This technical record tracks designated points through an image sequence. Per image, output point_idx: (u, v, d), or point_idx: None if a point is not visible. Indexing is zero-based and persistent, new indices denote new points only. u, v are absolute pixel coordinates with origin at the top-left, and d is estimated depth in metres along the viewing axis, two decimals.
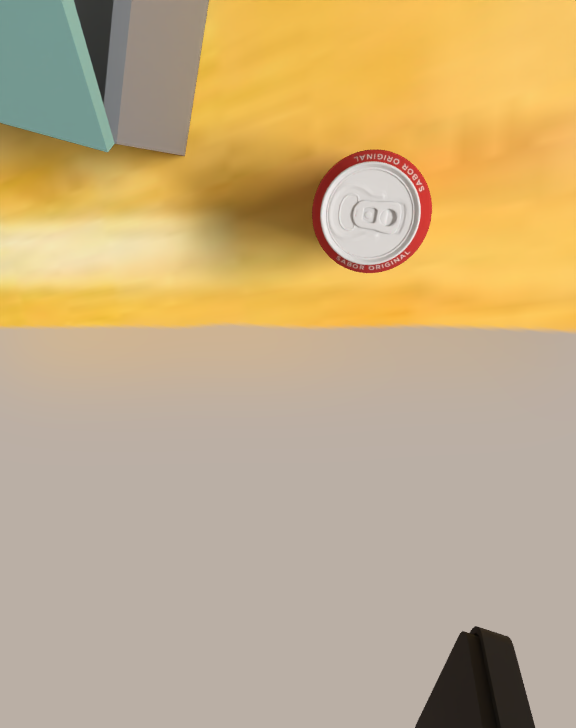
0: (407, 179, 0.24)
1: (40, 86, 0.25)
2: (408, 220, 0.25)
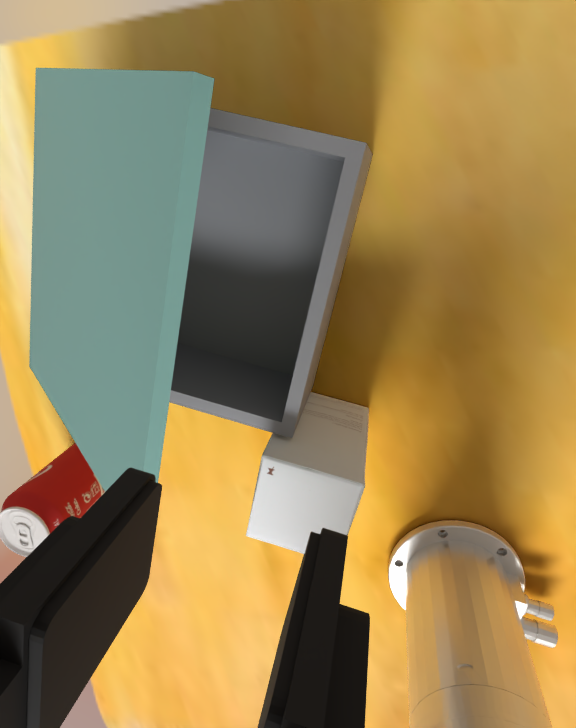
0: None
1: (41, 347, 0.34)
2: (26, 550, 0.42)
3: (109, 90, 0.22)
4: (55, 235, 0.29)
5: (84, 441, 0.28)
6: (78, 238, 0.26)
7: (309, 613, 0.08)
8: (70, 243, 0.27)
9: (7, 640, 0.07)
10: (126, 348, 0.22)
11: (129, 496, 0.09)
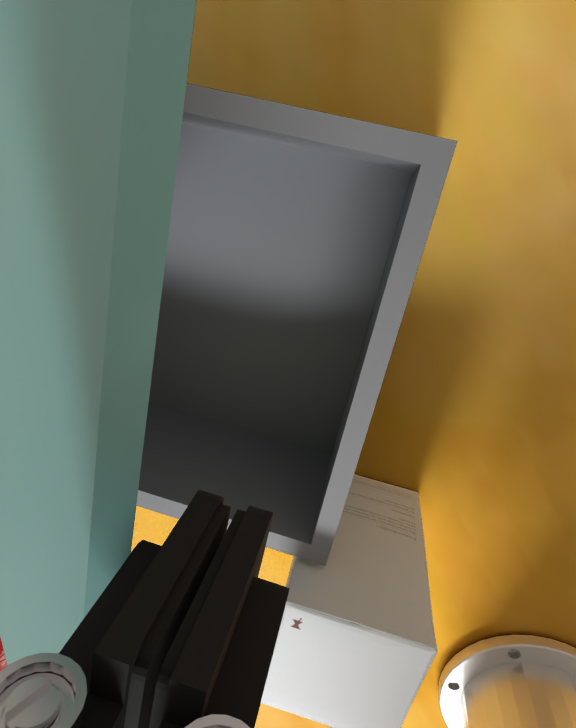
0: None
1: None
2: None
3: None
4: None
5: (2, 625, 0.17)
6: None
7: (217, 583, 0.08)
8: None
9: (110, 679, 0.06)
10: (40, 536, 0.12)
11: (204, 521, 0.09)
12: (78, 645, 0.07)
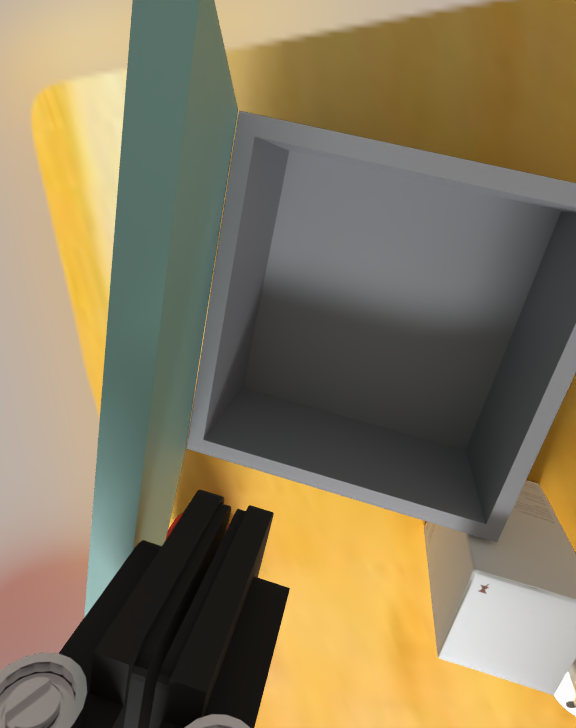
0: None
1: None
2: None
3: None
4: None
5: None
6: None
7: (218, 583, 0.08)
8: None
9: (110, 679, 0.06)
10: None
11: (204, 521, 0.09)
12: (78, 645, 0.07)
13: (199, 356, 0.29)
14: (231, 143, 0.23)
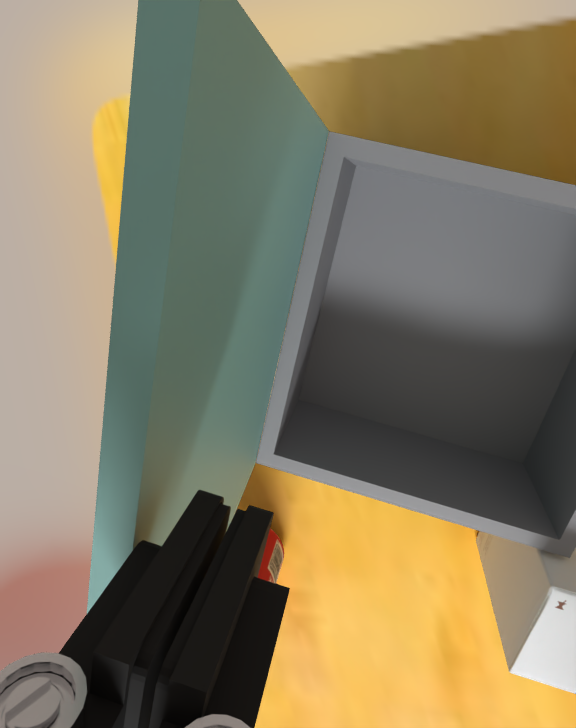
0: None
1: None
2: None
3: None
4: None
5: None
6: None
7: (217, 583, 0.08)
8: None
9: (109, 679, 0.06)
10: None
11: (204, 521, 0.09)
12: (78, 645, 0.07)
13: (274, 372, 0.29)
14: (317, 163, 0.23)
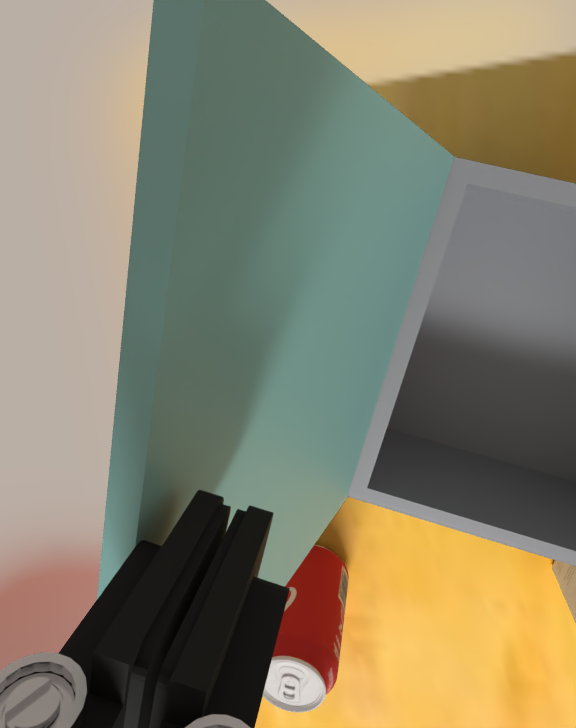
0: (313, 708, 0.34)
1: None
2: (287, 702, 0.35)
3: None
4: None
5: None
6: None
7: (217, 583, 0.08)
8: None
9: (109, 679, 0.06)
10: None
11: (204, 521, 0.09)
12: (78, 645, 0.07)
13: (374, 404, 0.27)
14: (436, 189, 0.22)
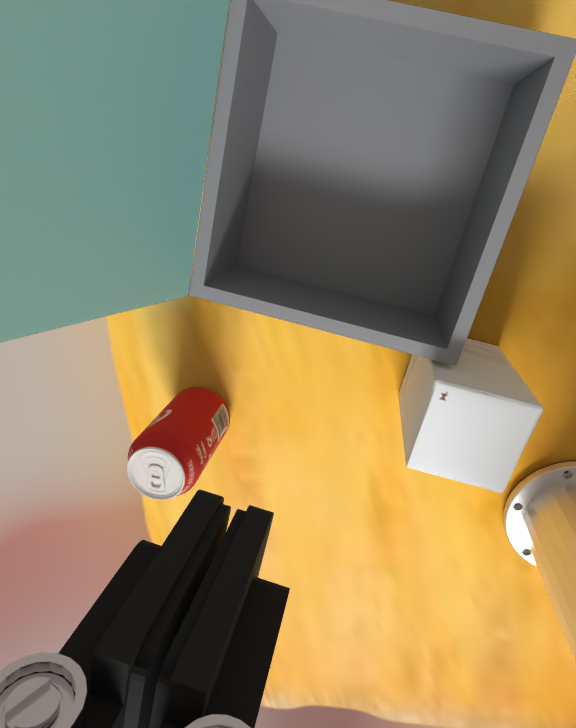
0: (176, 494, 0.41)
1: None
2: (156, 493, 0.41)
3: None
4: None
5: None
6: None
7: (217, 583, 0.08)
8: None
9: (109, 679, 0.06)
10: None
11: (204, 521, 0.09)
12: (78, 645, 0.07)
13: (195, 199, 0.33)
14: None
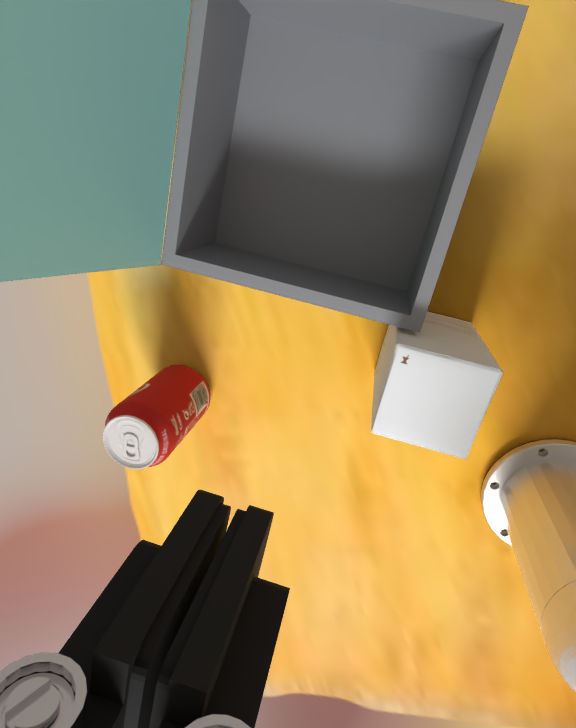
0: (150, 463, 0.41)
1: None
2: (131, 462, 0.42)
3: None
4: None
5: None
6: None
7: (218, 583, 0.08)
8: None
9: (109, 679, 0.06)
10: None
11: (204, 521, 0.09)
12: (78, 645, 0.07)
13: (165, 169, 0.34)
14: None
